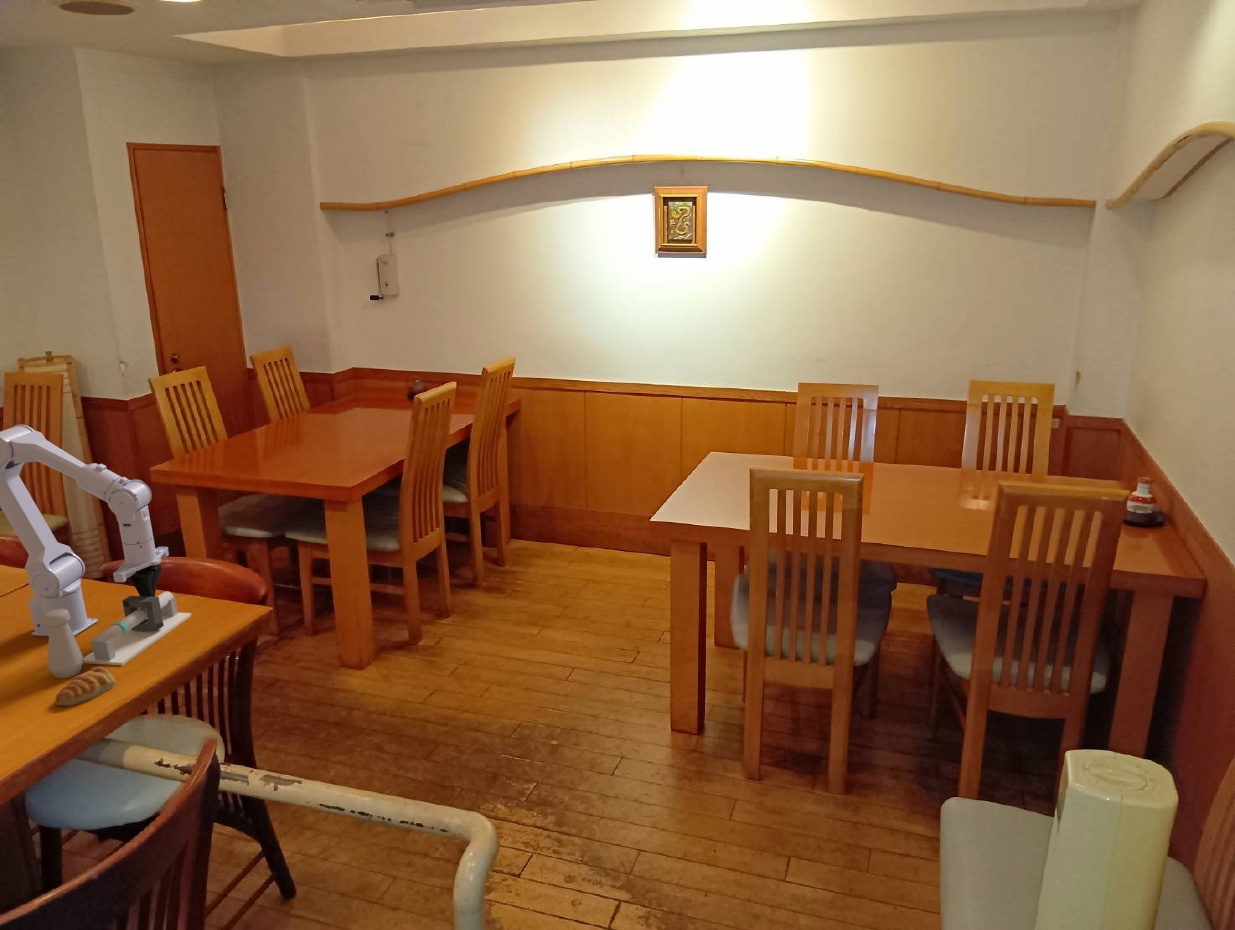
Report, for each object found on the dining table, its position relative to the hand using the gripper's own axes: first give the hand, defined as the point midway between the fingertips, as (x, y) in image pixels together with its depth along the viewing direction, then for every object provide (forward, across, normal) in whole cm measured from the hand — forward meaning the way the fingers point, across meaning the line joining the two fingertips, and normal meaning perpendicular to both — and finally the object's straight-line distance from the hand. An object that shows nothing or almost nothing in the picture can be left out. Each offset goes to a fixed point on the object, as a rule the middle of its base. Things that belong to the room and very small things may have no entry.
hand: (148, 600), depth 183 cm
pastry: (+7, -26, -5) cm, 27 cm away
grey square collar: (+5, -2, 0) cm, 6 cm away
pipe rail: (+6, -5, 0) cm, 8 cm away
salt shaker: (+7, -20, +4) cm, 21 cm away
